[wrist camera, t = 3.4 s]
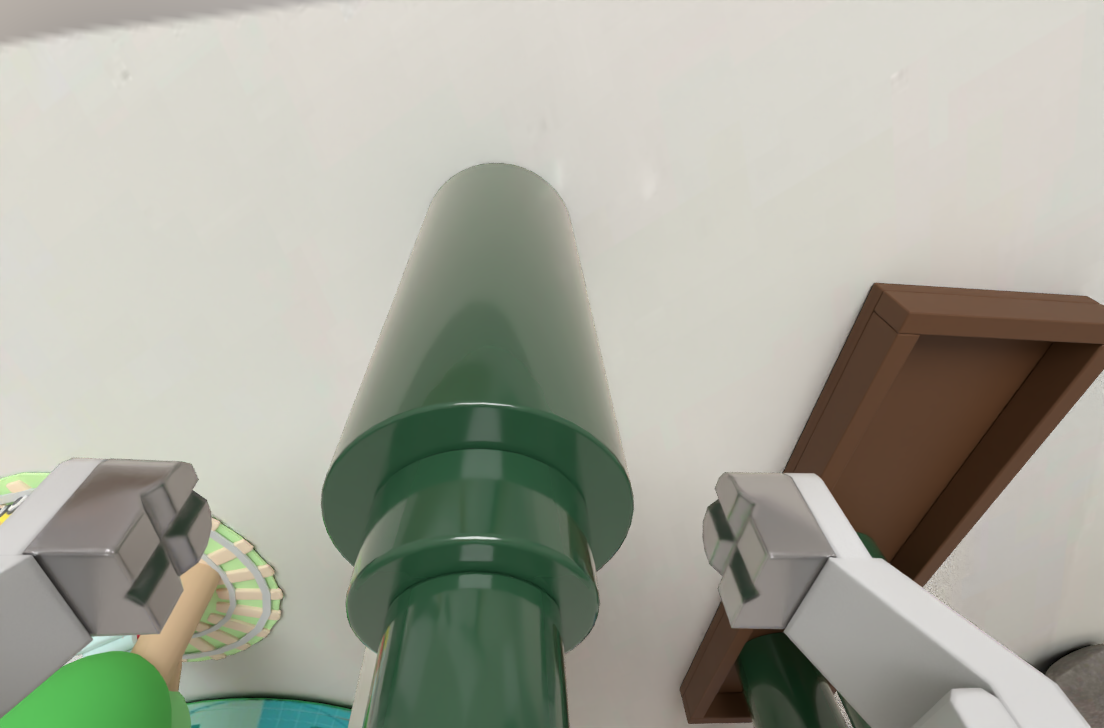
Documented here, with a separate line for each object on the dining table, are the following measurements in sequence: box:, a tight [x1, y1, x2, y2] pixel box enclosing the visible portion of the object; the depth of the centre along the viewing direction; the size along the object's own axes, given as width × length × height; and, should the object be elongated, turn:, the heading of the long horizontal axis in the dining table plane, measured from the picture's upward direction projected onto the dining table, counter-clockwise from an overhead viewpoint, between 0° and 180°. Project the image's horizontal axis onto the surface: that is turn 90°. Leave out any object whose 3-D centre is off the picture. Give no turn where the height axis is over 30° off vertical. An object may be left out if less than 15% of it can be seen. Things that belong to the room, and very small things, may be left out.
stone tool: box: [1045, 644, 1104, 728], centre depth 38 cm, size 17×4×5 cm
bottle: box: [321, 163, 634, 728], centre depth 11 cm, size 5×5×15 cm
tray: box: [680, 283, 1104, 724], centre depth 27 cm, size 30×8×2 cm, turn 175°
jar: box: [348, 646, 377, 728], centre depth 23 cm, size 9×8×12 cm
